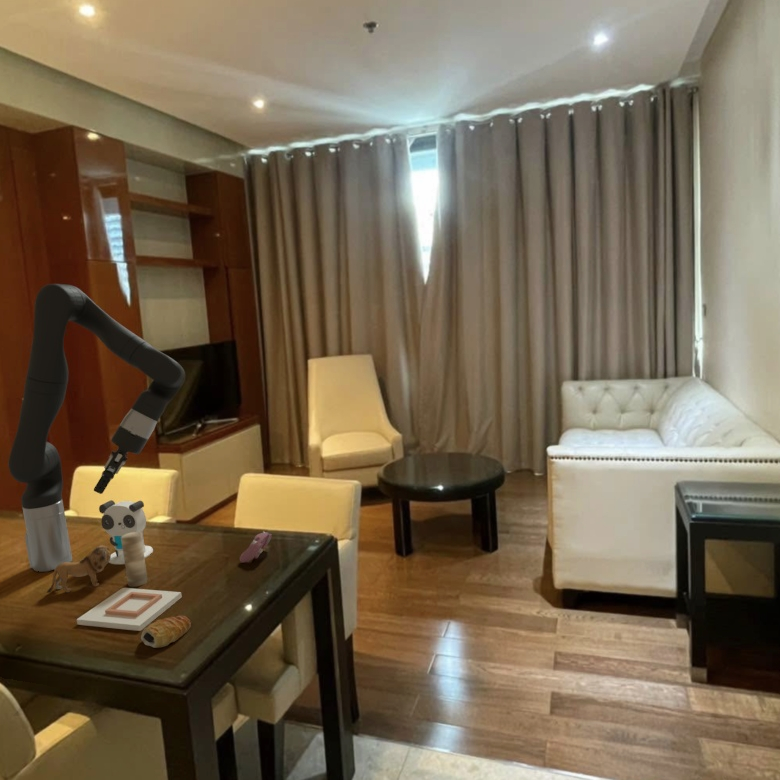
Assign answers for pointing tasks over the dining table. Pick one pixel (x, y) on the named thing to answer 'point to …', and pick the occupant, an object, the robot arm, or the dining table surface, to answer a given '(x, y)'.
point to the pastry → (165, 631)
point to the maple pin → (134, 559)
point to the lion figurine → (82, 568)
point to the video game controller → (256, 547)
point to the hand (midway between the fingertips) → (99, 489)
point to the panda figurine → (123, 525)
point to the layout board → (129, 609)
